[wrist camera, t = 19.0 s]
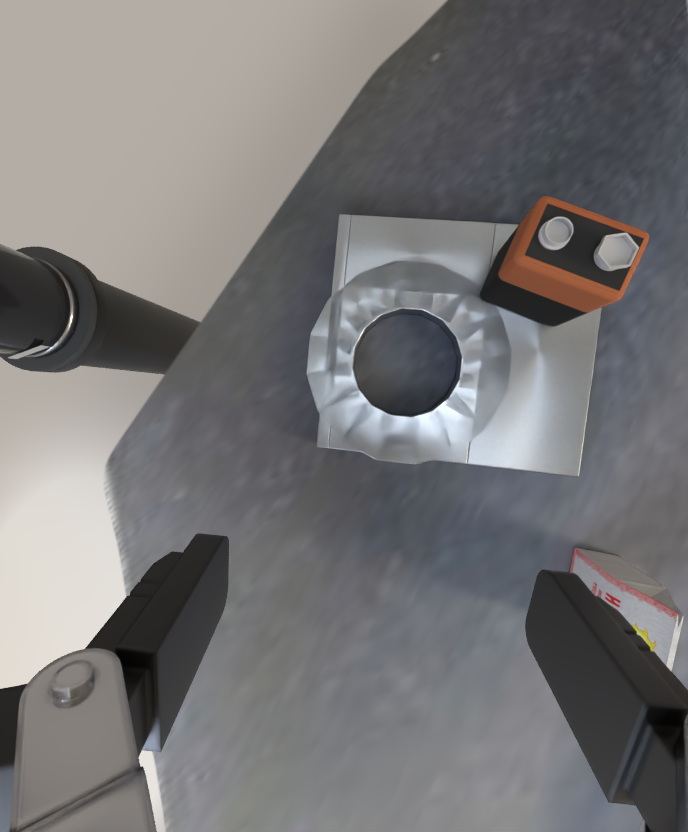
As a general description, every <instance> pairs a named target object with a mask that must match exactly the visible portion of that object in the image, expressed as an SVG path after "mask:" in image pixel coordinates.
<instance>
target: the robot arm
mask: <svg viewBox="0 0 688 832" xmlns="http://www.w3.org/2000/svg"><path fill="white" fill-rule="evenodd" d="M78 318H79V302H78V297H77V293H76V290H75V288H74V286H73V284H72V282H71V280H70V279H69V278H68V276H67V275H66V274H65V273H64V272H63V271H62V270H61V269H59V268H58V267H56V266H55V265H53V264H51V263H49V262H46V261H44V260H41V259H38V258H35V257H31V256H28V255H26V254H23V253H21V252H18V251H16V250H13V249H11V248H9V247H6V246H4V245H1V244H0V353H4V354H13V355H14V356H11V357H8V358H11V359H19V358H21V357H29V358H41V357H46V356H49V355H52V354H54V353H56V352H57V351H59V350H60V349H62V348H63V347H64V346H65V345H66V344H67V343H68V341H69V340H70V339H71V337H72V335H73V333H74V331H75V329H76V326H77V323H78ZM228 562H229V540H228V537H227V536H219V535H209V534H199V533H198V534H196V535H195V537H194V538H193V539H192V541H191V542H190V544H189V545H188V546H187V548H186V549H185V550H184V552H183V553H181V552H171V553H169V554H168V555H166V556H165V557H163V558H161V559H160V560H158V561H157V562H155V563H154V564H153V565H152V566H151V567H150V569H149V570H148V571H147V572H146V574H145V575H144V576H143V577H142V579H141V582H138V584H137V585H136V586H135V587H134V589H133V590H132V591H131V592H130V596H127V597H126V598H125V600H124V601H123V602H122V604H121V605H120V606H119V607H118V608H117V610H116V611H115V612H114V614H113V615H112V616H111V617H110V619H109V620H108V621H107V622H106V623H105V625H104V626H103V627H102V628H101V630H100V631H99V632H98V633H97V635H96V636H95V637H94V638H93V640H92V641H91V642H90V643H89V645H88V646H87V647H86V648H85V649H83V650H79V651H76V652H72V653H70V654H67V655H65V656H62V657H61V658H58V659H57V660H55V661H53V662H52V663H50V664H48V665H47V666H46V667H44V668H43V669H42V670H41V671H39V672H38V673H37V674H36V675H35V676H34V677H33V678H32V679H31V681H30V682H29V683H28V684H24V685H19V686H14V687H9V688H3V689H0V832H157V831H156V826H155V821H154V816H153V811H152V805H151V800H150V795H149V789H148V785H147V780H146V775H145V771H144V768H143V767H140V763H139V759H138V757H139V755H140V753H141V751H142V750H145V751H154V752H161V750H162V748H163V746H164V744H165V741H166V739H167V737H168V735H169V732H170V730H171V728H172V726H173V723H174V721H175V719H176V717H177V714H178V712H179V710H180V708H181V705H182V703H183V701H184V699H185V696H186V694H187V692H188V690H189V687H190V685H191V683H192V681H193V678H194V676H195V674H196V672H197V669H198V667H199V665H200V663H201V660H202V658H203V656H204V654H205V651H206V649H207V647H208V645H209V642H210V640H211V638H212V636H213V633H214V631H215V629H216V627H217V624H218V622H219V620H220V618H221V615H222V613H223V610H224V607H225V603H226V599H227V592H228ZM525 628H526V637H527V641H528V644H529V647H530V649H531V651H532V653H533V655H534V657H535V659H536V661H537V663H538V665H539V667H540V669H541V671H542V672H543V674H544V676H545V678H546V680H547V682H548V684H549V686H550V688H551V690H552V692H553V694H554V696H555V698H556V700H557V702H558V704H559V706H560V708H561V710H562V712H563V714H564V716H565V718H566V720H567V722H568V723H569V725H570V727H571V729H572V731H573V733H574V735H575V737H576V739H577V741H578V743H579V745H580V747H581V749H582V751H583V753H584V755H585V757H586V759H587V761H588V763H589V765H590V767H591V769H592V771H593V773H594V774H595V776H596V778H597V780H598V782H599V784H600V786H601V788H602V790H603V792H604V794H605V796H606V798H607V800H608V802H610V803H620V804H629V805H636V806H637V808H638V810H639V812H640V814H641V815H642V817H643V819H642V821H641V824H640V826H639V830H638V832H688V690H687V689H686V688H685V687H684V686H683V684H682V683H681V682H680V681H679V680H678V679H677V677H676V676H675V675H674V674H673V673H672V672H671V671H670V669H669V668H668V667H667V666H666V665H665V664H664V662H663V661H662V660H661V659H660V658H659V657H658V656H657V654H656V653H655V652H653V651H651V649H650V646H649V645H648V644H647V643H646V642H645V641H644V639H643V638H642V637H641V636H640V635H637V631H636V630H635V629H634V628H633V627H632V626H631V624H630V623H629V622H628V621H627V620H626V619H625V618H624V616H623V615H622V614H621V613H620V612H619V611H617V610H616V609H615V608H613V607H612V606H611V605H609V604H608V603H607V602H605V601H604V600H603V599H601V598H600V597H599V596H595V595H594V594H593V593H592V592H591V590H590V589H589V588H588V587H587V586H586V584H585V583H584V582H583V581H582V580H581V578H580V577H579V576H578V575H577V574H575V573H572V572H562V571H552V570H541V571H540V572H539V574H538V576H537V579H536V583H535V586H534V590H533V594H532V598H531V602H530V606H529V609H528V613H527V617H526V624H525Z"/></svg>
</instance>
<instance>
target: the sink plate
mask: <svg viewBox="0 0 688 832" xmlns="http://www.w3.org/2000/svg"><path fill="white" fill-rule="evenodd" d="M518 225H519V224H502V223H496V224H495V223H488V222H470V221H452V220H434V219H416V218H399V217H381V216H363V215H344V214H339V221H338V231H337V242H336V252H335V262H334V272H333V283H332V293H331V297H330V298H329V299H328V300H327V302H326V304H325V306H324V308H323V310H322V312H321V314H320V316H319V318H318V319H317V321H316V323H315V325H314V327H313V329H312V331H311V333H310V337H309V348H308V358H307V369H306V373H307V374H306V375H307V378H308V382H309V385H310V388H311V392H312V395H313V398H314V402H315V405H316V408H317V411H318V412H319V414H320V416H319V426H318V436H317V447H322V448H331V449H340V450H349V451H357V452H362V453H364V454H366V455H368V456H370V457H371V458H373V459H375V460H380V461H389V462H397V463H406V464H414V465H415V464H420V463H423V462H427V461H430V460H436V461H444V462H453V463H462V464H466V463H467V464H470V465H479V466H488V467H496V468H505V469H514V470H522V471H531V472H540V473H548V474H557V475H566V476H575V477H579V471H580V464H581V456H582V449H583V441H584V434H585V427H586V419H587V412H588V405H589V397H590V390H591V383H592V375H593V368H594V361H595V353H596V346H597V338H598V331H599V324H600V316H601V309H602V307H601V308H599V309H596V310H594V311H592V312H589V313H587V314H584V315H582V316H580V317H577V318H575V319H573V320H570V321H568V322H565V323H563V324H561V325H558V326H555V327H553V326H550V325H547V324H544V323H542V322H539V321H537V320H534V319H531V318H529V317H526V316H524V315H521V314H519V313H516V312H514V311H511V310H508V309H506V308H503V307H501V306H498V305H496V304H493V303H491V302H488V301H486V300H484V299H482V298H481V296H480V292H481V290H482V288H483V285H484V283H485V281H486V278H487V276H488V274H489V272H490V269H491V267H492V265H493V262H494V260H495V258H496V256H497V253H498V252H499V250H500V249H501V247H502V246H503V245H504V244H505V242H506V241H507V240H508V238H509V237H510V236H511V234H512V233H513V232H514V231H515V229H516V228H517V227H518ZM398 314H413V315H422V316H424V317H426V318H428V319H429V320H431V321H433V322H435V323H437V324H439V325H440V326H441V328H442V329H443V330H444V331H445V332H446V334H447V335H448V336H449V337H450V339H451V340H452V342H453V346H454V349H455V353H456V356H457V359H458V360H457V368H456V377H455V381H454V383H453V385H452V386H451V388H450V390H449V392H448V393H447V395H446V397H445V398H444V399H443V400H441V401H440V402H439V403H438V404H436V405H435V406H434V407H433V408H431V409H430V410H428V411H425V412H421V413H418V414H414V415H411V416H407V415H398V414H390V413H388V412H386V411H384V410H382V409H380V408H378V407H377V406H375V405H373V404H372V403H371V402H370V401H369V399H368V398H367V397H366V396H365V394H364V393H363V392H362V391H361V389H360V387H359V383H358V380H357V377H356V373H355V361H356V351H357V349H358V347H359V345H360V343H361V341H362V339H363V337H364V336H365V334H366V332H367V331H369V330H370V329H371V328H372V327H373V326H375V325H376V324H377V323H378V322H379V321H381V320H382V319H386V318H389V317H392V316H395V315H398Z"/></svg>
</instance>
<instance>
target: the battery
mask: <svg viewBox="0 0 688 832" xmlns="http://www.w3.org/2000/svg"><path fill="white" fill-rule="evenodd" d="M648 241H649V234H648V233H647V232H645V231H643V230H640V229H637V228H635V227H632V226H629V225H626V224H624V223H621V222H618V221H615V220H613V219H610V218H607V217H604V216H602V215H599V214H596V213H594V212H591V211H588V210H585V209H583V208H580V207H577V206H574V205H572V204H569V203H566V202H563V201H561V200H558V199H555V198H552V197H549V196H544V197H541V198H540V199H539V200H538V201H537V202H536V203H535V205H534V206H533V207H532V209H531V210H530V211H529V212H528V214H527V215H526V216H525V218H524V219H523V220H522V222H521V223H520V224H519V225H518V227H517V228H516V229H515V231H514V232H513V233H512V234H511V236H510V237H509V238H508V240H507V241H506V242H505V244H504V245H503V246H502V247H501V249H500V250H499V252H498V253H497V256H496V258H495V260H494V262H493V265H492V267H491V269H490V272H489V274H488V276H487V278H486V281H485V283H484V285H483V288H482V290H481V292H480V296H481V298H482V299H484V300H486V301H488V302H491V303H493V304H496V305H498V306H501V307H503V308H506V309H508V310H511V311H514V312H516V313H519V314H521V315H524V316H526V317H529V318H531V319H534V320H537V321H539V322H542V323H544V324H547V325H550V326H553V327H555V326H558V325H561V324H563V323H565V322H568V321H570V320H573V319H575V318H577V317H580V316H582V315H584V314H587V313H589V312H592V311H594V310H596V309H599V308H601V307H604V306H606V305H608V304H611V303H613V302H615V301H618V300H620V299H621V298H622V296H623V294H624V292H625V290H626V288H627V286H628V284H629V281H630V279H631V277H632V275H633V273H634V271H635V269H636V267H637V264H638V262H639V260H640V258H641V256H642V254H643V252H644V250H645V247H646V245H647V243H648Z"/></svg>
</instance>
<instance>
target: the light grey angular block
mask: <svg viewBox="0 0 688 832" xmlns="http://www.w3.org/2000/svg"><path fill="white" fill-rule="evenodd" d="M570 572H572V573H575V574H577V575H578V576H579V577H580V578H581V580H582V581H583V582H584V583H585V584H586V586H587V587H588V588H589V589H590V590H591V592H592V593H593V594H594V595H595V596H599V597H600V598H601V599H603V600H604V601H605V602H607V603H608V604H609V605H611V606H612V607H613V608H615V609H616V610H617V611H619V612H620V613H621V614H622V615H623V616H624V618H625V619H626V620H627V621H628V622H629V623H630V624H631V626H632V627H633V628H634V629H635V630H636V631H637V635H640V636H641V637H642V638H643V639H644V641H645V642H646V643H647V644H648V645H649V646H650V649H651V651H653V652H655V653H656V654H657V656H658V657H659V658H660V659H661V660H662V661H663V662H664V664H665V665H666V666H667V667H668V668H669V669H670V671H671V670H672V666H673V662H674V657H675V653H676V648H677V644H678V640H679V635H680V631H681V626H682V622H683V617H684V614H683V613H682V612H681V611H680V610H679V609H678V608H677V606H676V605H675V604H674V602H673V600H672V598H671V596H670V594H669V592H668V590H667V589H666V588H665V587H664V586H662V585H661V584H659V583H658V582H656V581H655V580H653V579H652V578H650V577H649V576H647V575H646V574H644V573H643V572H641V571H640V570H638V569H637V568H635V567H634V566H632V565H631V564H630V563H628V562H627V561H625V560H624V559H622V558H621V557H619V556H616V555H611V554H606V553H600V552H595V551H590V550H585V549H580V548H574V552H573V557H572V562H571V567H570Z"/></svg>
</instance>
